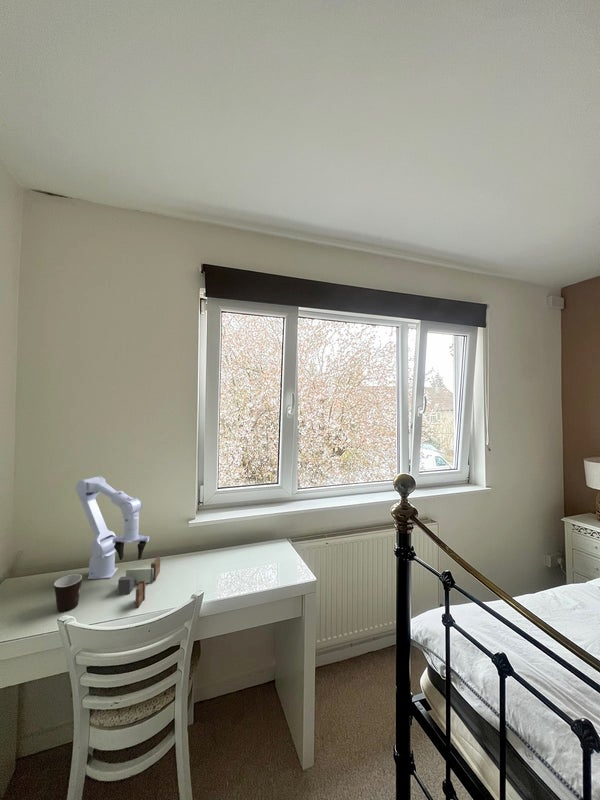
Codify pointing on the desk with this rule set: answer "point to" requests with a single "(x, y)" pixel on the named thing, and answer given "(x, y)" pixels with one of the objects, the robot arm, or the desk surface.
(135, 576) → the door
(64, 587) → the coffee mug
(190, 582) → the desk surface
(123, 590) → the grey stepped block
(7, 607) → the desk surface
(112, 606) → the desk surface
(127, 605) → the desk surface
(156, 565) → the door frame
